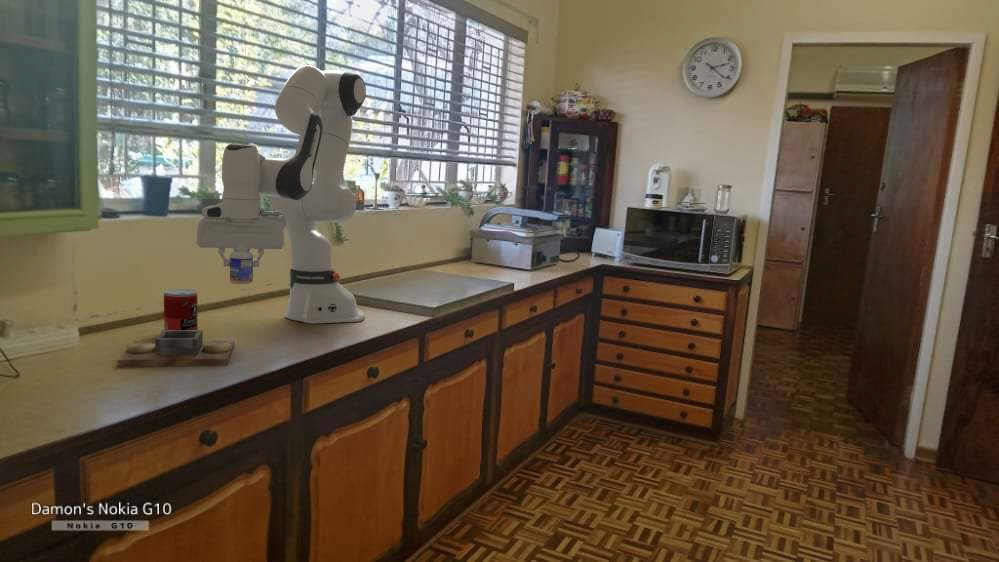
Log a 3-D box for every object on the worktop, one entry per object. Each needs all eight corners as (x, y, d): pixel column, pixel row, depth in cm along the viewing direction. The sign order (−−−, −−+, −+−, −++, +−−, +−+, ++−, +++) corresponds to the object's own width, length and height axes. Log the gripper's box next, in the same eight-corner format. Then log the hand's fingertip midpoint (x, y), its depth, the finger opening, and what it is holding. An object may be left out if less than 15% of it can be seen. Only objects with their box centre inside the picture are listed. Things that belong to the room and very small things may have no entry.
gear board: (234, 346, 174) (234, 326, 174) (227, 365, 159) (227, 343, 158) (135, 347, 169) (134, 326, 168) (118, 366, 153) (117, 344, 153)
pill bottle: (225, 282, 178) (225, 242, 176) (246, 280, 182) (245, 242, 180) (236, 285, 174) (236, 245, 173) (257, 283, 178) (257, 244, 177)
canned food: (185, 338, 179) (185, 295, 177) (157, 335, 180) (156, 292, 178) (204, 332, 186) (204, 290, 184) (176, 328, 188) (176, 287, 186)
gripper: (286, 210, 181) (285, 264, 183) (198, 207, 175) (199, 263, 178) (285, 213, 175) (285, 269, 177) (195, 209, 169) (195, 267, 172)
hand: (241, 266), depth 177 cm, fingers closed on pill bottle, 5 cm apart
